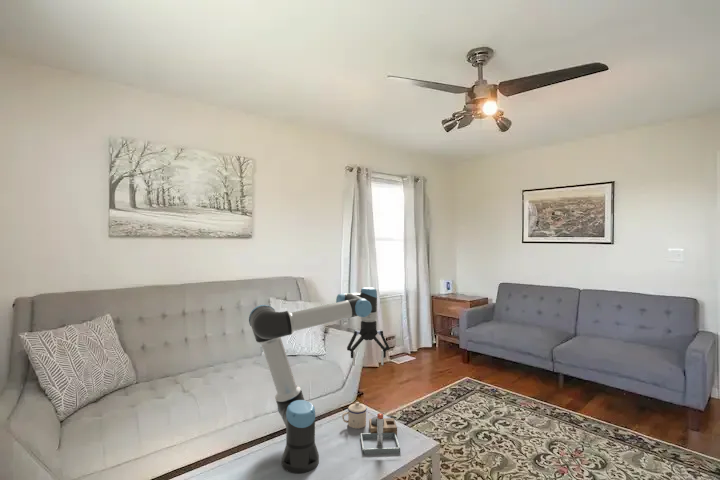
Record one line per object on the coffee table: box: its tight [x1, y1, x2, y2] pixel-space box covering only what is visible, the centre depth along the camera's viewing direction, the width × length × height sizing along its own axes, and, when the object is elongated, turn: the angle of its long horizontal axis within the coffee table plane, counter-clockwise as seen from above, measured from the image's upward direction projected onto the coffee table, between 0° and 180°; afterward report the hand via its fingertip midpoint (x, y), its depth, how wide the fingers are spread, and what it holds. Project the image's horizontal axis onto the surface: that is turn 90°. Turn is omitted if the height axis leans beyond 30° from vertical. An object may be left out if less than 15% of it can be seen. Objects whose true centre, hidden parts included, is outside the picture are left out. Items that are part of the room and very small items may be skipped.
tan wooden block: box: [368, 416, 398, 437], centre depth 185 cm, size 12×9×7 cm
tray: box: [359, 432, 401, 455], centre depth 173 cm, size 16×13×3 cm
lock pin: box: [376, 412, 384, 448], centre depth 173 cm, size 3×3×14 cm
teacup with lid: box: [341, 401, 367, 429], centre depth 191 cm, size 12×9×12 cm
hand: (368, 364), depth 187 cm, fingers open, 13 cm apart
